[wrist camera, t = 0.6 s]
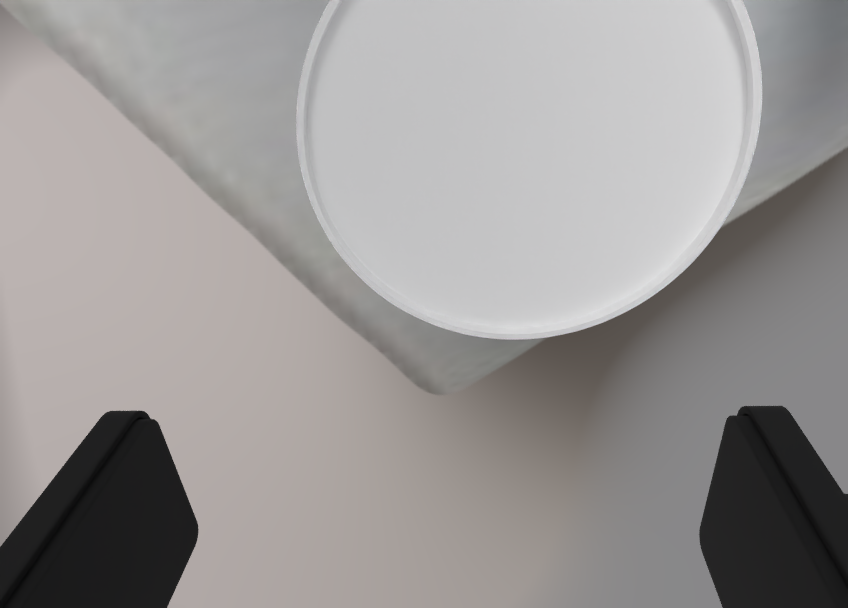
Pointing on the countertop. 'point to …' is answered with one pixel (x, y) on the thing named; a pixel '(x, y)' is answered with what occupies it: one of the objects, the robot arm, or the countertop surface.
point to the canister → (526, 151)
